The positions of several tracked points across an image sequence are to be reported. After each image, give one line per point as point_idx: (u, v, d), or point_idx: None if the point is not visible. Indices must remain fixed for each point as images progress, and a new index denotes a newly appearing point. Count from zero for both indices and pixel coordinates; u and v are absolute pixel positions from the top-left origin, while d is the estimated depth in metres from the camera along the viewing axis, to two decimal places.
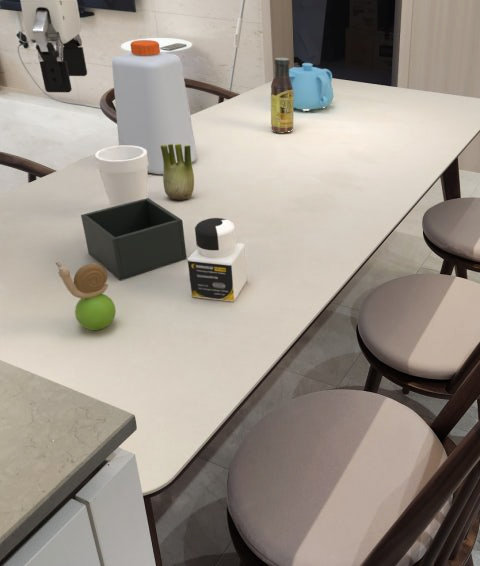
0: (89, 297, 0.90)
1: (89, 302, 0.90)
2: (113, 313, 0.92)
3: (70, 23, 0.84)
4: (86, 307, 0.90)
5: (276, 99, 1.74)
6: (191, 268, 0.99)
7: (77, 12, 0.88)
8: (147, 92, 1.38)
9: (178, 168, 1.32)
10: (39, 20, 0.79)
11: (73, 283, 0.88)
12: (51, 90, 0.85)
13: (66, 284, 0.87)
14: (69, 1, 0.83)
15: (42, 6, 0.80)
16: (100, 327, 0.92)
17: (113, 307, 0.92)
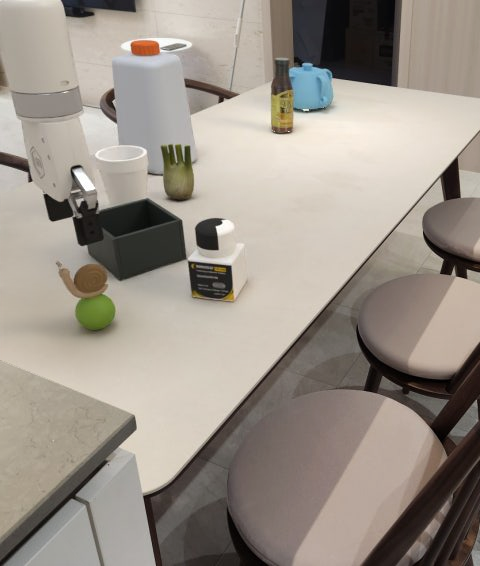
0: (89, 297, 0.90)
1: (89, 302, 0.90)
2: (113, 313, 0.92)
3: None
4: (86, 307, 0.90)
5: (276, 99, 1.74)
6: (191, 268, 0.99)
7: None
8: (147, 92, 1.38)
9: (178, 168, 1.32)
10: (83, 179, 0.77)
11: (73, 283, 0.88)
12: (85, 243, 0.82)
13: (66, 284, 0.87)
14: None
15: (75, 164, 0.77)
16: (100, 327, 0.92)
17: (113, 307, 0.92)
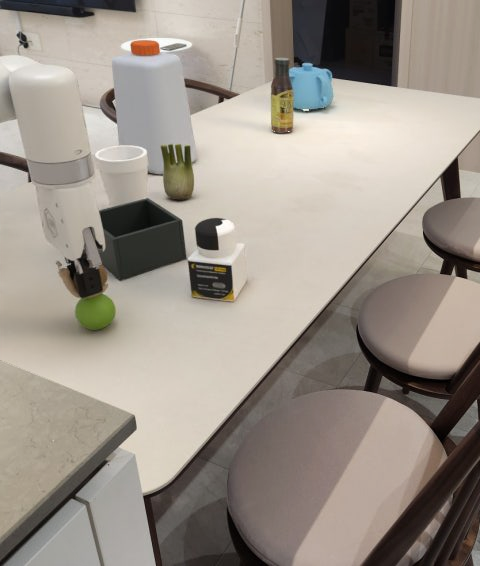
0: (89, 297, 0.90)
1: (89, 302, 0.90)
2: (113, 313, 0.92)
3: None
4: (86, 306, 0.90)
5: (276, 99, 1.74)
6: (191, 268, 0.99)
7: None
8: (147, 92, 1.38)
9: (178, 168, 1.32)
10: (92, 250, 0.83)
11: (73, 283, 0.88)
12: (85, 295, 0.89)
13: (66, 284, 0.87)
14: None
15: (86, 226, 0.81)
16: (100, 327, 0.92)
17: (113, 307, 0.92)
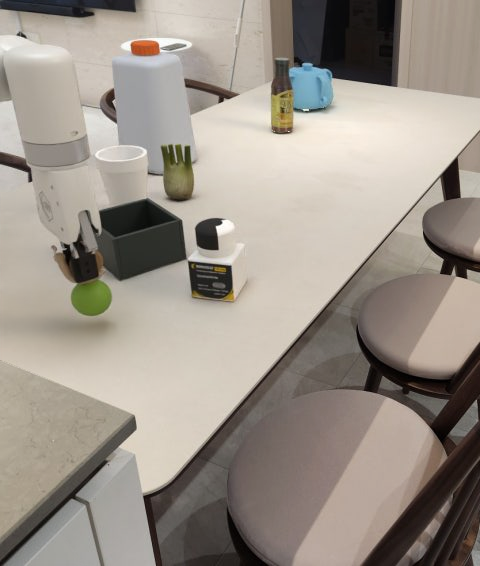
0: (85, 282, 0.89)
1: (85, 288, 0.89)
2: (109, 299, 0.91)
3: None
4: (82, 292, 0.89)
5: (276, 99, 1.74)
6: (191, 268, 0.99)
7: None
8: (147, 92, 1.38)
9: (178, 168, 1.32)
10: (88, 234, 0.82)
11: (69, 268, 0.87)
12: (81, 280, 0.88)
13: (62, 269, 0.86)
14: None
15: (82, 209, 0.80)
16: (96, 313, 0.90)
17: (109, 293, 0.91)
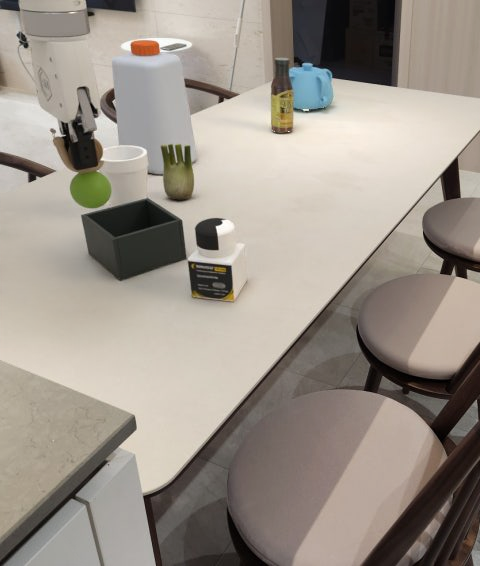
0: (84, 172, 0.88)
1: (84, 177, 0.88)
2: (109, 191, 0.90)
3: None
4: (81, 181, 0.88)
5: (276, 99, 1.74)
6: (191, 268, 0.99)
7: None
8: (147, 92, 1.38)
9: (178, 168, 1.32)
10: (87, 112, 0.81)
11: (68, 154, 0.86)
12: (80, 168, 0.87)
13: (60, 154, 0.85)
14: None
15: (81, 86, 0.79)
16: (95, 204, 0.89)
17: (109, 185, 0.90)
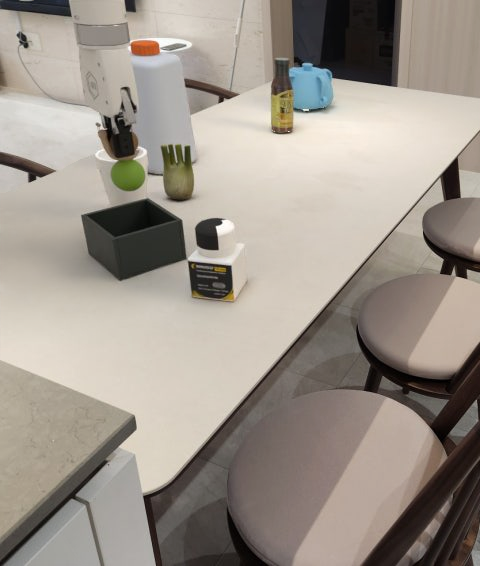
0: (123, 159, 1.04)
1: (123, 164, 1.03)
2: (143, 176, 1.06)
3: None
4: (121, 167, 1.03)
5: (276, 99, 1.74)
6: (191, 268, 0.99)
7: None
8: (147, 92, 1.38)
9: (178, 168, 1.32)
10: (128, 108, 0.96)
11: (110, 144, 1.01)
12: (120, 156, 1.02)
13: (104, 144, 1.01)
14: None
15: (124, 86, 0.95)
16: (132, 187, 1.05)
17: (143, 171, 1.06)
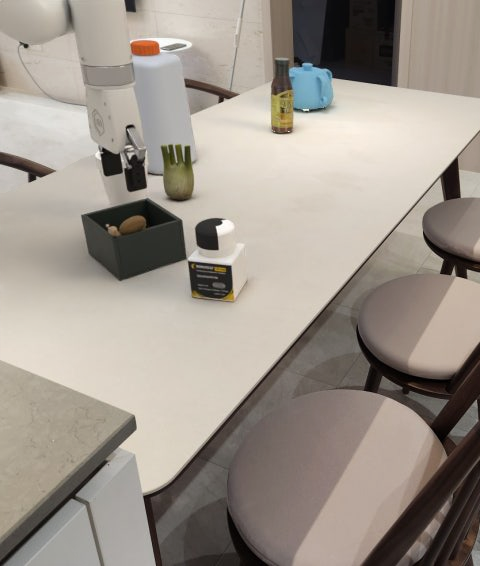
0: None
1: None
2: None
3: None
4: None
5: (276, 99, 1.74)
6: (191, 268, 0.99)
7: None
8: (147, 92, 1.38)
9: (178, 168, 1.32)
10: (135, 138, 0.97)
11: (120, 234, 1.03)
12: (132, 190, 1.03)
13: (114, 236, 1.03)
14: None
15: (129, 124, 0.98)
16: None
17: None
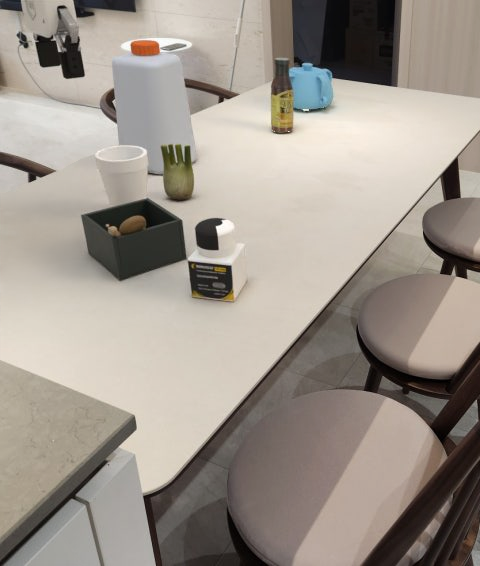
0: None
1: None
2: None
3: None
4: None
5: (276, 99, 1.74)
6: (191, 268, 0.99)
7: None
8: (147, 92, 1.38)
9: (178, 168, 1.32)
10: (67, 16, 0.94)
11: (120, 234, 1.03)
12: (69, 77, 0.99)
13: (114, 236, 1.03)
14: None
15: (61, 5, 0.94)
16: None
17: None
